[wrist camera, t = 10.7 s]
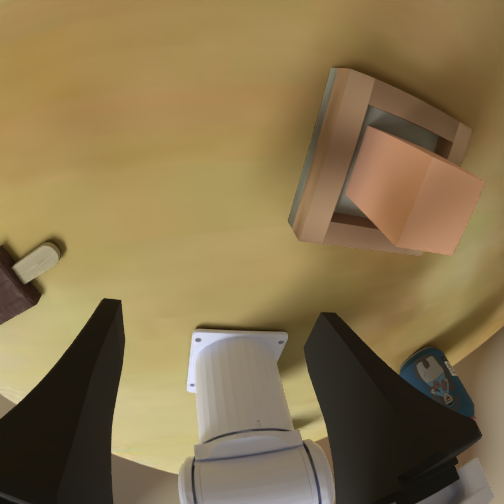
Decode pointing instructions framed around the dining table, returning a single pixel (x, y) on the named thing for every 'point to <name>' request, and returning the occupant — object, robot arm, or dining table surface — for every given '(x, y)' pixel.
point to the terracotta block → (412, 193)
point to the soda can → (437, 380)
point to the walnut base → (347, 149)
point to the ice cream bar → (23, 279)
